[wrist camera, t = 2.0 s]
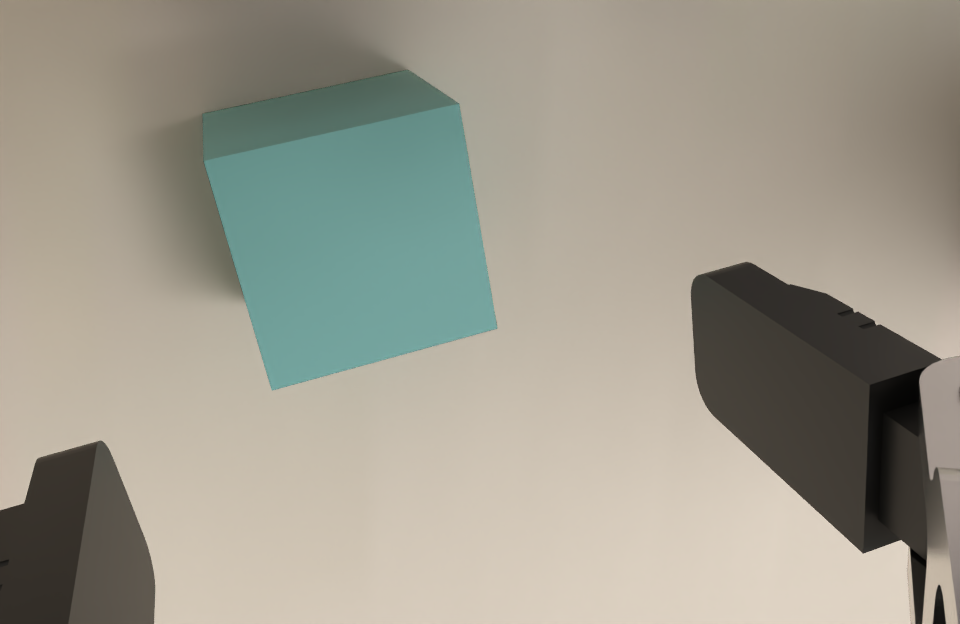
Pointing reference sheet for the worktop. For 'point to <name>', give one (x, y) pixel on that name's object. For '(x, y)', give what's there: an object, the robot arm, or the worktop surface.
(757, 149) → the worktop surface
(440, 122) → the teal cube
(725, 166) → the worktop surface
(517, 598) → the worktop surface
